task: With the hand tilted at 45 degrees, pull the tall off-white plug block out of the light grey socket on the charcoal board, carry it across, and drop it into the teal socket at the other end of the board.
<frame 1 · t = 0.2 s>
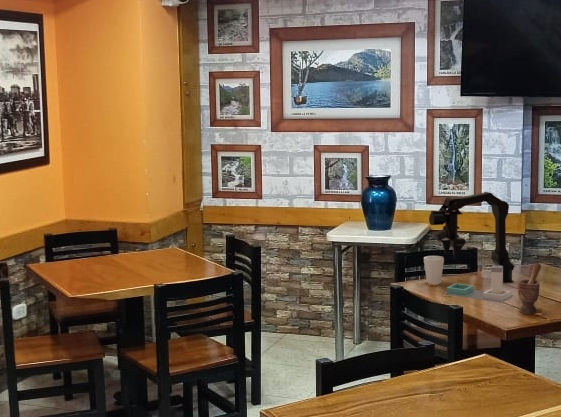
hand: (450, 256, 384), 15 cm above the table, tool pointing down, fingers open, 9 cm apart
mortar and pestle: (529, 311, 341), on the table
foam cup: (433, 284, 391), on the table
plug block: (496, 297, 360), point 1 cm above the table, touching socket board
socket board: (478, 296, 366), on the table
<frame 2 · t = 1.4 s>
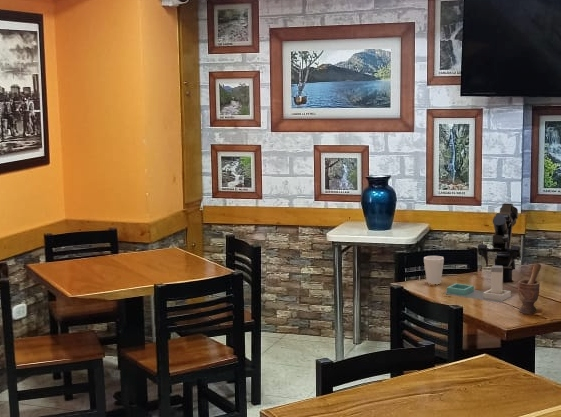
hand: (497, 266, 366), 13 cm above the table, tool tilted 45°, fingers open, 9 cm apart
nothing on the table moved.
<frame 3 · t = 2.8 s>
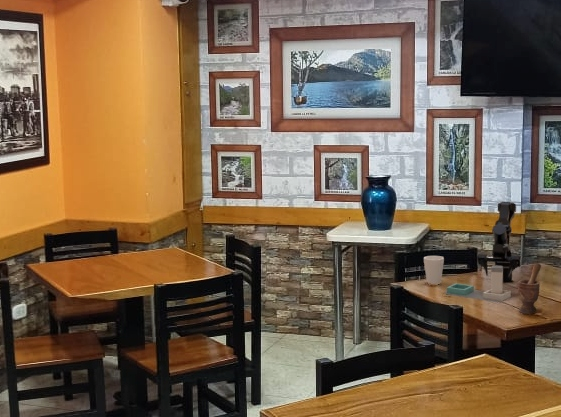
hand: (497, 276, 361), 10 cm above the table, tool tilted 45°, fingers open, 9 cm apart
nothing on the table moved.
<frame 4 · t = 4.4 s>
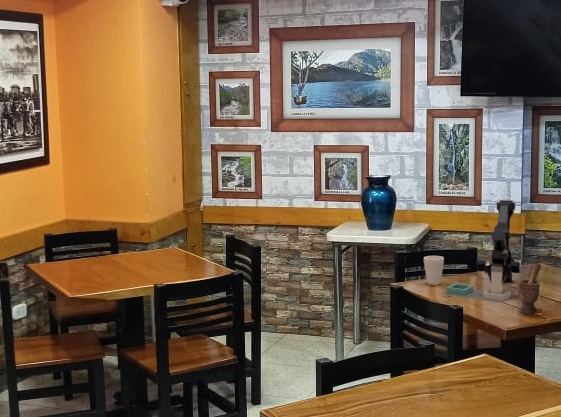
hand: (496, 282, 358), 8 cm above the table, tool tilted 45°, fingers closed on plug block, 4 cm apart
plug block: (496, 297, 360), point 1 cm above the table, touching gripper, socket board
everything else where it was.
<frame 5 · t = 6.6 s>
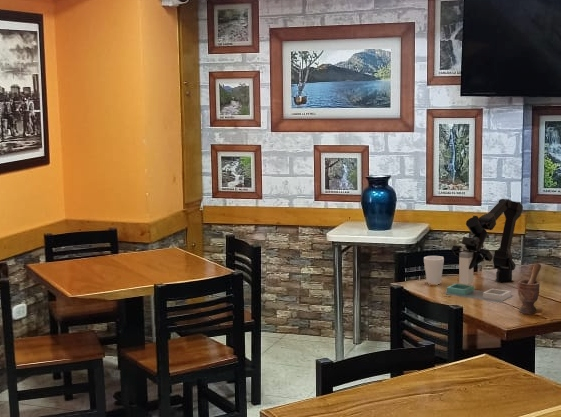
hand: (464, 268, 366), 13 cm above the table, tool tilted 45°, fingers closed on plug block, 4 cm apart
plug block: (466, 282, 368), point 6 cm above the table, touching gripper
everything else where it was.
when the fingers open (10 cm above the table, at t = 8.8 s): plug block drops 1 cm, resting on socket board.
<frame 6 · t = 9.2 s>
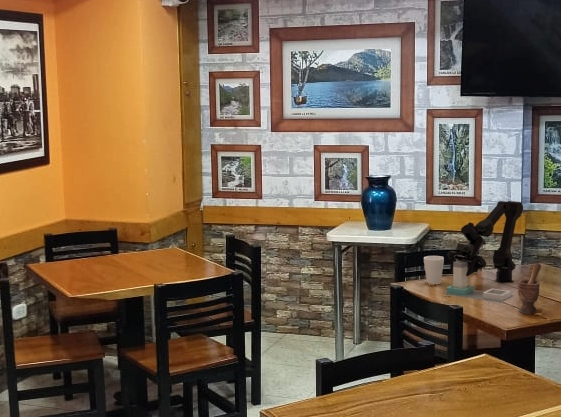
hand: (458, 274, 369), 10 cm above the table, tool tilted 45°, fingers open, 9 cm apart
plug block: (460, 291, 371), point 1 cm above the table, touching socket board
everything else where it was.
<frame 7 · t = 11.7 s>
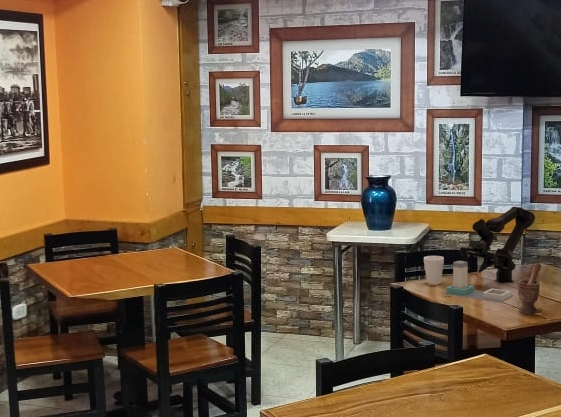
hand: (470, 270, 375), 10 cm above the table, tool tilted 45°, fingers open, 9 cm apart
nothing on the table moved.
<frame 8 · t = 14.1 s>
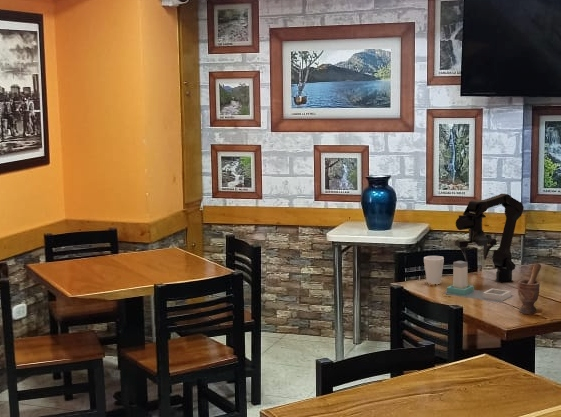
hand: (475, 260, 381), 13 cm above the table, tool pointing down, fingers open, 9 cm apart
nothing on the table moved.
at the end: plug block 0.1 cm from the target spot, point 1.0 cm above the table; plug block tilted 0°; the gripper is holding nothing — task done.
